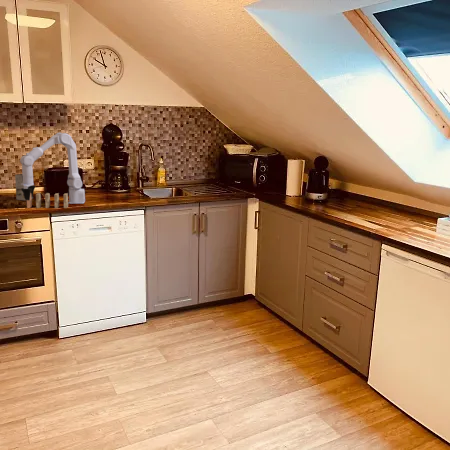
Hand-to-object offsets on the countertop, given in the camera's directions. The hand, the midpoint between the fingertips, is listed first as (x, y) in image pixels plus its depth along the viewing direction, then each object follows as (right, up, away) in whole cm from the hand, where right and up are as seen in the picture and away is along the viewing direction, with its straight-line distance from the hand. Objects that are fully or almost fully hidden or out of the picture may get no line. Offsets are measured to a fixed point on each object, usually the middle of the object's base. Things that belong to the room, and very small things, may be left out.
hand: (29, 199), depth 281 cm
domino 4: (+20, -5, +5) cm, 21 cm away
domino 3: (+15, -5, +4) cm, 16 cm away
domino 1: (+5, -5, +2) cm, 7 cm away
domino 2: (+10, -5, +3) cm, 11 cm away
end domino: (0, -5, +1) cm, 5 cm away
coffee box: (-13, +1, +25) cm, 28 cm away
